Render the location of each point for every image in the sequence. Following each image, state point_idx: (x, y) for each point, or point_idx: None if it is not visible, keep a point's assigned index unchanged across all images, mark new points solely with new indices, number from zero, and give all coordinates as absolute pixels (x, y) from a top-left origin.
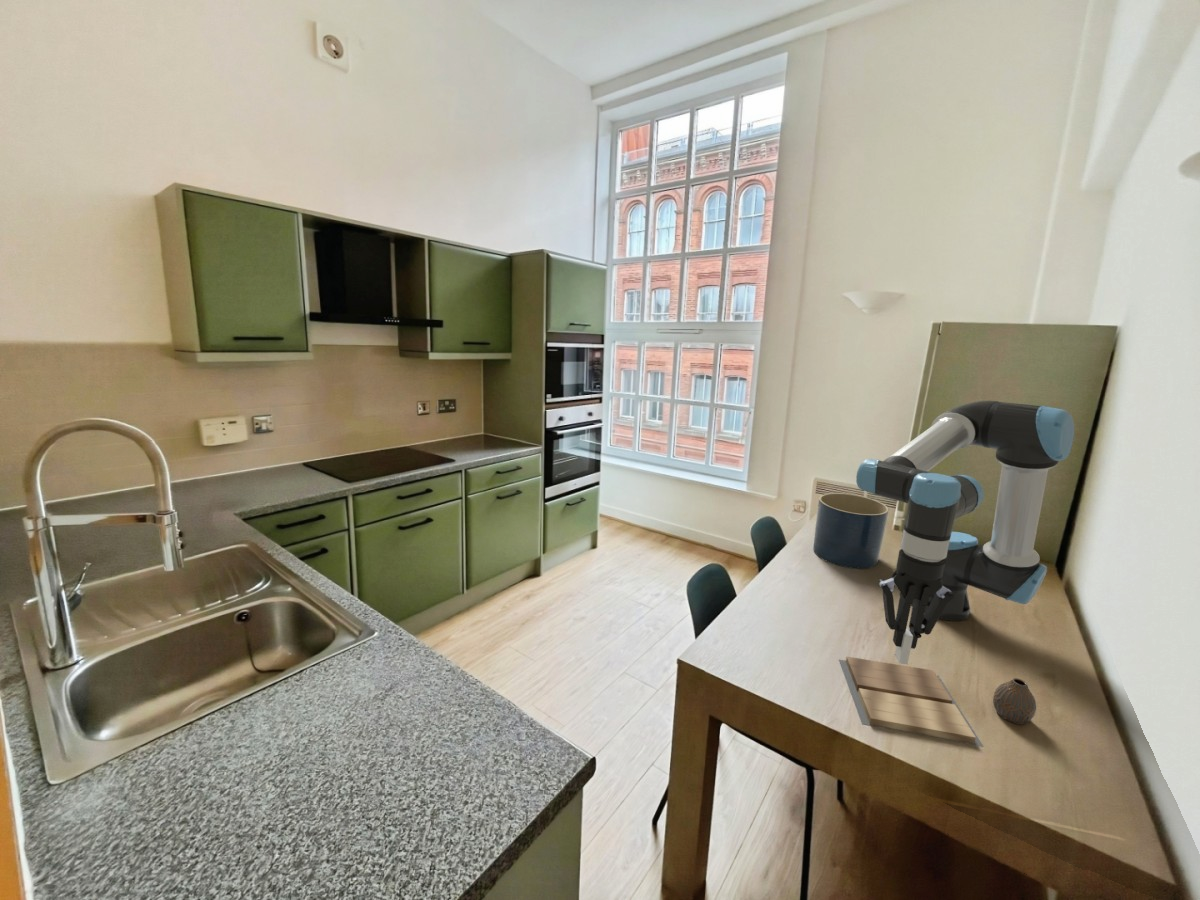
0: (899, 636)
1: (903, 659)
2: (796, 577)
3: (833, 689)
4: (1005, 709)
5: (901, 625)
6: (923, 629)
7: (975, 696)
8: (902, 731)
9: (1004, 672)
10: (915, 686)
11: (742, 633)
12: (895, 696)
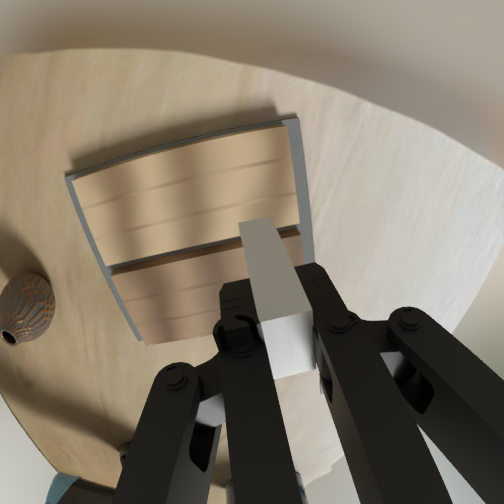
0: (326, 301)
1: (260, 228)
2: (336, 437)
3: (341, 211)
4: (33, 285)
5: (370, 354)
6: (201, 390)
7: (83, 315)
8: (212, 133)
9: (63, 377)
10: (177, 286)
11: (456, 290)
12: (220, 232)
